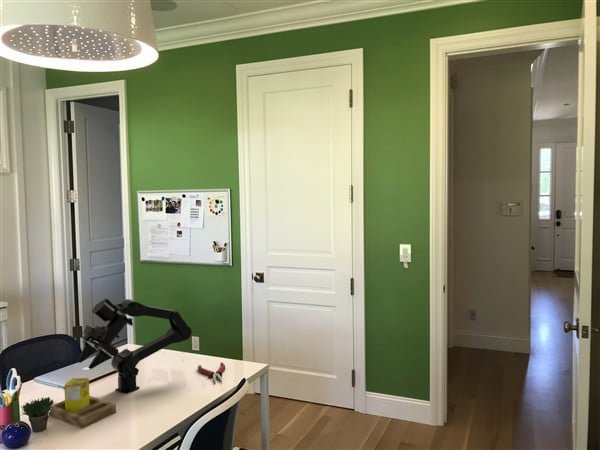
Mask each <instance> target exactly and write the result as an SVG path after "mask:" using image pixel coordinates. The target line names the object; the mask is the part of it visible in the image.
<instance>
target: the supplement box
mask: <svg viewBox="0 0 600 450" xmlns="http://www.w3.org/2000/svg"><path fill="white" fill-rule="evenodd" d="M89 379H90V378H88V377H85V378H84V377H83V378H80V377H79V378H75V377H74V378H71V379H70V380H69V381H67V382H66V383H65V384H64V400H65V410H67V411H69V412H72V413H74V412H76V411H79V410H81V409H83V408H86V407H88V406H90V399H89V396H90V380H89Z"/></svg>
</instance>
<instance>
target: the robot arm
mask: <svg viewBox="0 0 600 450" xmlns="http://www.w3.org/2000/svg"><path fill="white" fill-rule="evenodd" d="M91 312H92V314H94V315H95V316H96V317H97V318H99V319H100V320H101V321H103V322H104V323H105V322H107V324H106V325H102V326H98V325H96V326H91V325H89V324H88V325H87V324H86V326H85V327H84V330H83V333H82V334H83V336H82V337H81V338H82V345H83V348H82V350H81V353H80V356H79V357H78V360H77V363H79V364H81V363H83V362H84V361H85V360H86V359H88V358H89V357H91V356H92V355H93V354H94V353H96V352H97V353H96V355H95V356H94V357H93V359H92V361H91V363H90V364H89V365H88V368H89V370H92V369H94V368H96V367H98V366H99V365H101V364H103V363H105V362H106V361H109V360H111V359H112V360H111V363H110V364H111V367H112V369H114V370H115V371H116V373H118V375H117V376H118V377H117V387H118V388H115V392H119V393H122V394H125V395H127V394H129V393H132V392H134V391H137V390H139V389H140V388H141V387H140V386H137V376H138V375H139V372H140V369H139V368H137V365H138V364H139V363H140V362H141V361H142V360H144V359H146V358H148V357H150V356H152V355H154V354H155V353H157V352H159V351H161V350H163V349H164V348H166V347H168V346H170V345H173V344H178V343H182V342H185V341H188V340H189V339H190V338H191V336H192V328H191V327H190V326H188V324H187V323H186V321H185V320H184V319H183V317H182V316H181V314H180V313H179V311H177V310H174V309H167V308H164V307H163V308H162V307H156V306H151V305H147V304H144V303H141V302H138V301H135V300H132V299H130V298H129V299H128V298H127V299H126V298H125V300H123V302H121V303H117V304H114V303H112V302H111V301H110V300H109V298H107V297H106V298H105V297H104V299H103V300H101V301H99V302H98V303H96V304H95V305H94V307H93V308H92V309H91ZM128 316H129V317H128ZM145 316H146V317H153V318H158V319H164V320H168V323H169V326H170V328H169V329H168V331H166V333H165V334H163V335H161V336H159V337H157V338H155V339H153V340H152V341H150V342H148V343H145V344H144V345H141V346H140V347H137V348H136V349H134V350H129V349H128V348H125V349H123V350H122V351H120V352H119V348H117V347H116V346H114V345H113V344H112V343H113V342H115V340H116V339H119V338H120V335H119V334H120V333H122V331H123V329H124V328H126V326H127V325H129V326H131V327H133V325H134V323H133V318H134V317H136V318H137V317H145Z"/></svg>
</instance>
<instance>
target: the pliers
mask: <svg viewBox="0 0 600 450" xmlns="http://www.w3.org/2000/svg"><path fill="white" fill-rule="evenodd" d="M225 370H226V365H225V363H223V361H222V362H220V367H219V369H217V370H216V371H212V370H209V369H207V368H204V367H202V365H201V364H199V365H198V366H197V371H198V372H199V374H201V375H204V376H207V378H208V379H211V378H212V380H213V382H214V383H216V382H217V381H216V380H218V381H219V382H220V383H223V380H222V377H223V373H224V372H225Z"/></svg>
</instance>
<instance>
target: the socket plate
mask: <svg viewBox="0 0 600 450" xmlns="http://www.w3.org/2000/svg"><path fill="white" fill-rule="evenodd" d="M89 399H90V406H88V407H86V408H83V409H81V410H79V411H76V412H74V413H72V412H69V411H67V410H65V399H64V400H62V401H59V402H56V403H55V404H53V405H54V406H53V407H52V409H51V410H50V412H49V416H48V417H50V418H53V419H55V420H58V421H61V422H63V423H67V424H70V425H72V426H74V427H78V428H80V429H84V428H86V427H88V426H91V425H93V424H95V423H97V422H99V421H101V420H103V419H105V418H108V417H109V416H112V415H114V414H116V413H117V403H113V402H112V401H107V400H105V399H101V398H98V397H95V396H91V395H89Z"/></svg>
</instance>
